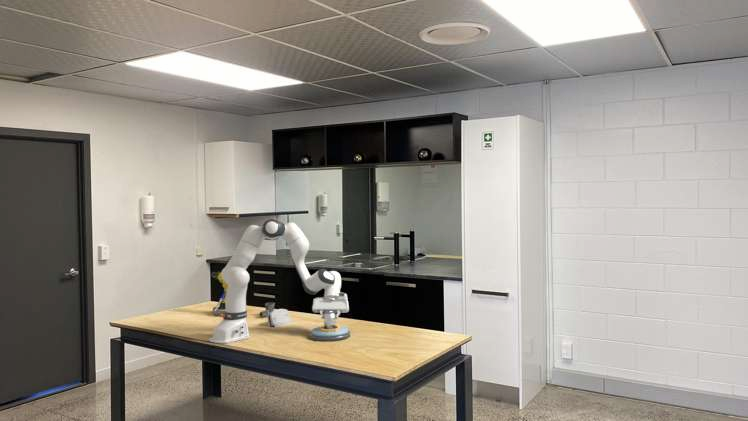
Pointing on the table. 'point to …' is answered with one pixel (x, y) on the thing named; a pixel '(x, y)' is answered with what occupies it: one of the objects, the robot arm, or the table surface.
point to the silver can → (329, 320)
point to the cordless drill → (221, 304)
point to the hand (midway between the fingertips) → (329, 318)
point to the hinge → (278, 318)
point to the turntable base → (329, 338)
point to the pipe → (267, 309)
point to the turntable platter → (330, 331)
